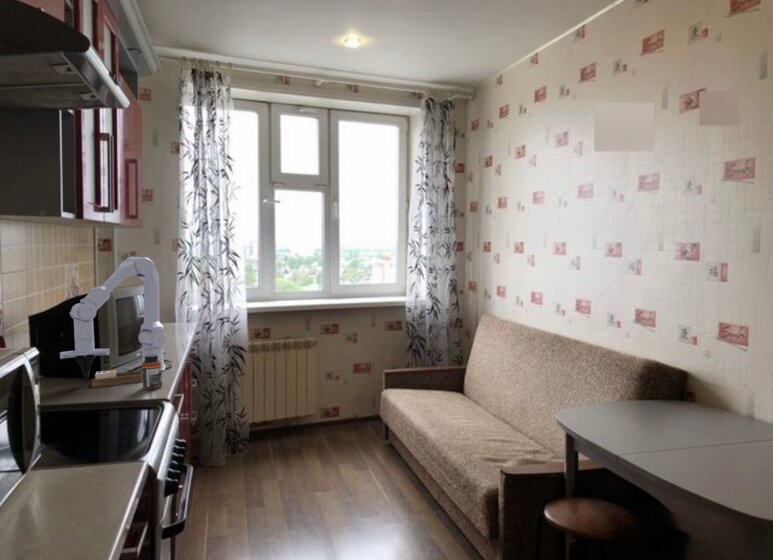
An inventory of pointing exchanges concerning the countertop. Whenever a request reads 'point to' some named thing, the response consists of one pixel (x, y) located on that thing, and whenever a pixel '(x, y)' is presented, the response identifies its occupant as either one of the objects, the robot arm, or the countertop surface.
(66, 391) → the countertop surface
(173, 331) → the countertop surface
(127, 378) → the brown wooden frame
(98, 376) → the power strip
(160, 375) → the supplement bottle
